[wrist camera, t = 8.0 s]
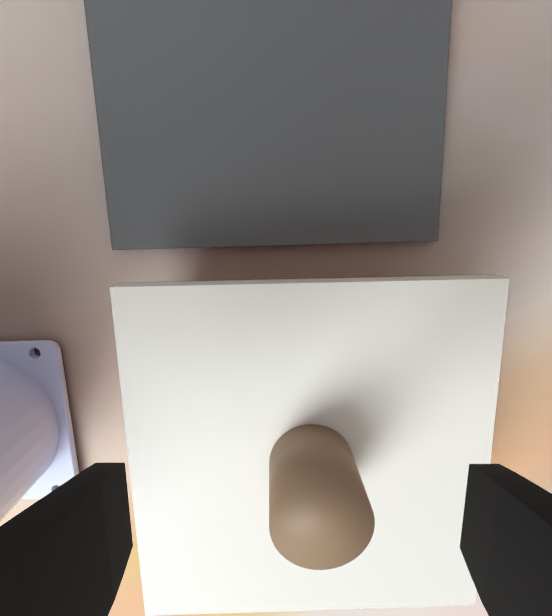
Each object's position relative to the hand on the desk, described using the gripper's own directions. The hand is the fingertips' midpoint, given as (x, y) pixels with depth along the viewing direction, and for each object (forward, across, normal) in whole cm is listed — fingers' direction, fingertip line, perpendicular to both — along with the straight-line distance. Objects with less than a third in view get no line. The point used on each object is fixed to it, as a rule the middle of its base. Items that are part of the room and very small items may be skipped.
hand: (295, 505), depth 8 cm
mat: (+10, +1, -12) cm, 16 cm away
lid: (+6, -1, +3) cm, 7 cm away
